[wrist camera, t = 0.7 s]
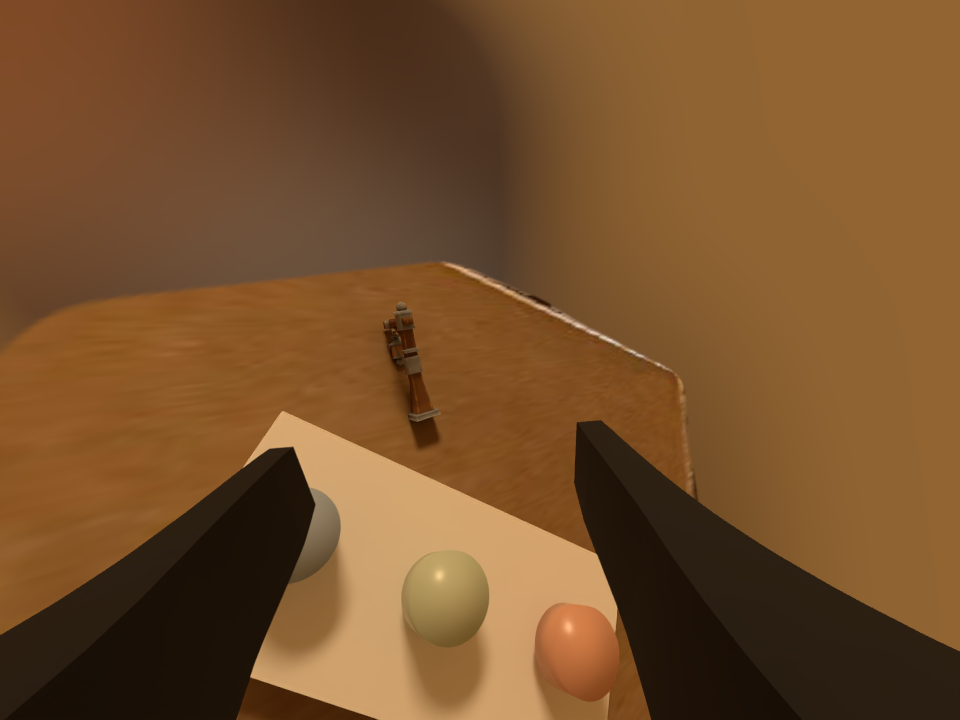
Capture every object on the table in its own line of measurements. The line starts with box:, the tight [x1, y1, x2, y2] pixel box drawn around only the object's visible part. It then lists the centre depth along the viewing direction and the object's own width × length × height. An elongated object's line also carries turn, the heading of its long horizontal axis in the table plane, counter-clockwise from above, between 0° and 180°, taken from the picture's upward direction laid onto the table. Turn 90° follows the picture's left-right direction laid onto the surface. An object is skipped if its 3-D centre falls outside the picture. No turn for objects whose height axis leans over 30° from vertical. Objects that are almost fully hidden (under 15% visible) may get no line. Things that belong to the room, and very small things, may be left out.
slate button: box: [288, 487, 341, 584], centre depth 18 cm, size 4×4×2 cm
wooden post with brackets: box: [383, 302, 441, 421], centre depth 27 cm, size 2×8×4 cm, turn 25°
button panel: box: [243, 411, 617, 720], centre depth 22 cm, size 11×24×2 cm, turn 71°
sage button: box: [401, 550, 489, 648], centre depth 19 cm, size 4×4×2 cm
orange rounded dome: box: [535, 603, 620, 702], centre depth 21 cm, size 4×4×2 cm
